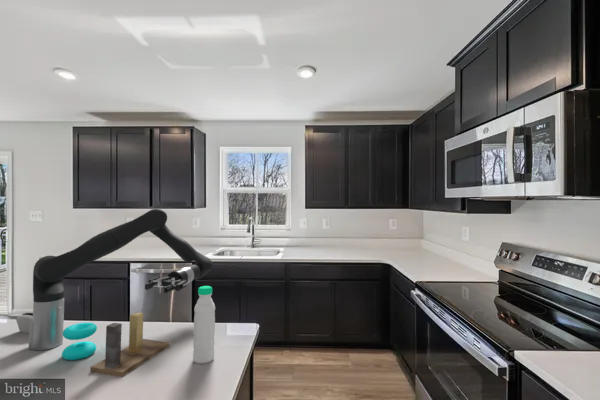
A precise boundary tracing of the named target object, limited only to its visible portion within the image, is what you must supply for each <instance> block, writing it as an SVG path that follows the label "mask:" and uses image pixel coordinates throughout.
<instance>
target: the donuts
mask: <svg viewBox="0 0 600 400" xmlns="http://www.w3.org/2000/svg"><path fill="white" fill-rule="evenodd" d="M97 330H98V326H97V324H96V323H93V322H80V323H75V324H71V325H69V326H67V327H65V329H63V338H64V339H66V340H68V341H69V340H70V341H77V342H74V343H71V344H69V345H67V346H66V347H64V349H63V350H62V352H61V356H62V358H63V359H64V360H67V361H78V360H81V359H85V358H87V357H90V356H92V355H93V354H94V353H95V352H96V350H97V345H96V343H94V342H92V341H86V340H85V341H79V340H82V339H86V338H89V337H91V336H93V335H94V334H95V333H96V332H97Z"/></svg>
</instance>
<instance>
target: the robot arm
mask: <svg viewBox="0 0 600 400" xmlns="http://www.w3.org/2000/svg"><path fill="white" fill-rule="evenodd" d="M167 220H168V214H167V212H166V211H165V210H164V209H161V208H152V209H150V210H148V211H146V212H145V213H143V214H142V215H140V216H138V217H135V218H134V219H133V220H130V221H127V222H125V223H122V224H119V225H117V226H114V227H112V228H110V229H106V230H105V231H103V232H100V233H98V234H96V235H93V237H91V238H89V239H88V240H86V241H85V242H83V243H82V244H80V245H78V247H76V248H74V249H72V250H70V251H67V252H64V253H62V254H59V255H45V256H43V257H41V258H39V259H38V260H37V261H36V262H35V263H34V266H33V271H32V295H33V299H32V301H33V305H32V306H33V307H32V311H33V321H32V322H30V326H29V333H28V349H29V350H33V351H45V350H50V349H53V348H56V347H59V346H61V345H62V344H63V343H64V336H63V331H64V325H65V324H64V321H65V317H64V315H65V296H66V295H65V294H66V293H65V292H66V291H65V287H64V278H65V277H67V276H68V275H70V274H71V273H73V272H75V271H76V270H78V269H79V268H81V267H83V266H85V265H88V264H90V263H92V262H94V261H97V260H99V259H101V258H103V257H106V256H108V255H109V254H112V253H114V252H116V251H117V250H120V249H122V248H123V247H126V245H128V244H129V243H131V242H132V241H133V240H135V239H137V238H138V237H140V236H141V235H143V234H145V233H147V232H150V234H151V233H152V234H153V235H154V236H155V237H156V238H158V239H159V240H161V241H162V242H164V244H165V245H167V246H168V247H169V248H170V249H171V250H172V251H174V252H175V254H176V255H177V256H179V257H180V259H182V261H184V262H185V263H187V264H188V265H186V266H184V267H180V268H178V269H175V270H172V271H170V272H169V273H168V275H167V276H165V277H161V275H159V276H155V277H152V278H150V279H148V283H146V284H144V289H145V290H146V291H148V290H151V289H152V288H156V287H157V288H163V293H164V294H168V293H169V292H172V291H173V292H174V291H175V290H176V292H179V291H182V290H183V289H184V288H186V287H187V285H188V284H190V283H191V282H193V281H194V280H199V279H201V278H203V277H204V276H206V275H207V274H208V273H210V272H211V271H212V270H213V268H214V263H213V261H212V260H211V258H209V257H208V256H205V255H203V254H202V253H200V252H199V251H197V250H196V249H195V248H194V247H193V245H192V244H190V243H189V242H188V241H186V240H185V239H183V237H180V236H179V235H177V234H175V233H174V232H173V231H172V230H171V229H170V228H169V227H168V226H167V225H166V223H167ZM192 262H196V263H195V264H189V263H192Z"/></svg>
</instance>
